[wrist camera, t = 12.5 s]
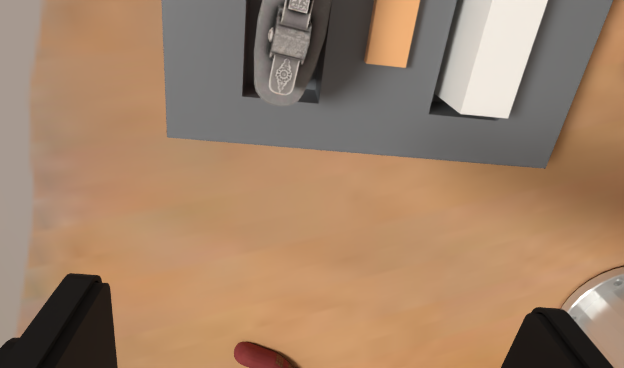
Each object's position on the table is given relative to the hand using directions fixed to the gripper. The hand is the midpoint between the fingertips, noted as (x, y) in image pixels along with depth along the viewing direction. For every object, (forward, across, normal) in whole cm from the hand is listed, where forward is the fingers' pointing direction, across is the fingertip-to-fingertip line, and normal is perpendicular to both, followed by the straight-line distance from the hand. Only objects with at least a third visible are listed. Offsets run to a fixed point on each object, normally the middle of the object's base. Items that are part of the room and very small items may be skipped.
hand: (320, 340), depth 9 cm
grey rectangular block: (+23, -5, -5) cm, 24 cm away
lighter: (+22, +1, -5) cm, 23 cm away
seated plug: (+22, -11, -6) cm, 26 cm away
